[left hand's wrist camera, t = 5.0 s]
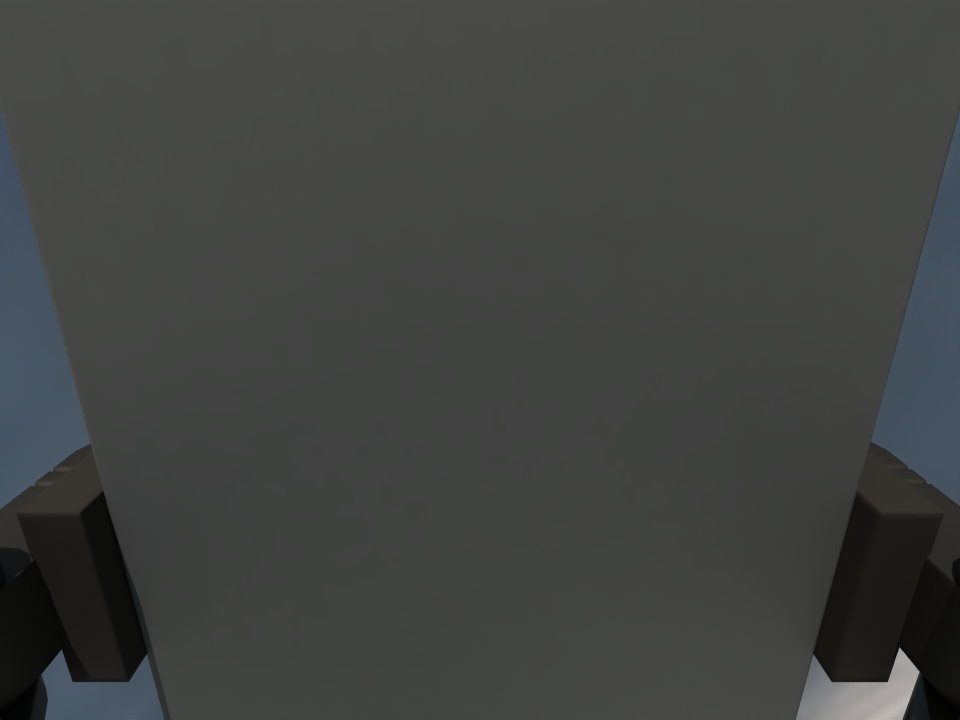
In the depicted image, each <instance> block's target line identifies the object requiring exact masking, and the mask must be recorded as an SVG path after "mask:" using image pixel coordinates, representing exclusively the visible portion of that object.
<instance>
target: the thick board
mask: <svg viewBox="0 0 960 720" xmlns="http://www.w3.org/2000/svg"><path fill="white" fill-rule="evenodd" d="M0 107H1V111H2V115H3V119H4V122H5V126H6V130H7V133H8V137H9V141H10V145H11V148H12V152H13V156H14V160H15V163H16V167H17V171H18V174H19V178H20V182H21V186H22V189H23V193H24V197H25V201H26V204H27V208H28V212H29V216H30V219H31V223H32V227H33V230H34V234H35V238H36V242H37V245H38V249H39V253H40V257H41V260H42V264H43V268H44V271H45V275H46V279H47V283H48V286H49V290H50V294H51V298H52V301H53V305H54V309H55V312H56V316H57V320H58V324H59V327H60V331H61V335H62V339H63V342H64V346H65V350H66V354H67V357H68V361H69V365H70V368H71V372H72V376H73V380H74V383H75V387H76V391H77V395H78V398H79V402H80V406H81V409H82V413H83V417H84V421H85V424H86V428H87V432H88V436H89V439H90V443H91V447H92V451H93V454H94V458H95V462H96V465H97V469H98V473H99V477H100V480H101V484H102V488H103V492H104V495H105V499H106V503H107V506H108V510H109V514H110V518H111V521H112V525H113V529H114V533H115V536H116V540H117V544H118V548H119V551H120V555H121V559H122V562H123V566H124V570H125V574H126V577H127V581H128V585H129V589H130V592H131V596H132V600H133V603H134V607H135V611H136V615H137V618H138V622H139V626H140V630H141V633H142V637H143V641H144V645H145V648H146V652H147V656H148V659H149V663H150V667H151V671H152V674H153V678H154V682H155V686H156V689H157V693H158V697H159V700H160V704H161V708H162V712H163V715H164V719H165V720H796V716H797V712H798V709H799V705H800V701H801V698H802V694H803V690H804V686H805V683H806V679H807V675H808V672H809V668H810V664H811V660H812V657H813V653H814V649H815V646H816V642H817V638H818V634H819V631H820V627H821V623H822V620H823V616H824V612H825V608H826V605H827V601H828V597H829V594H830V590H831V586H832V582H833V579H834V575H835V571H836V568H837V564H838V560H839V556H840V553H841V549H842V545H843V542H844V538H845V534H846V530H847V527H848V523H849V519H850V516H851V512H852V508H853V504H854V501H855V497H856V493H857V490H858V486H859V482H860V478H861V475H862V471H863V467H864V464H865V460H866V456H867V452H868V449H869V445H870V441H871V438H872V434H873V430H874V426H875V423H876V419H877V415H878V412H879V408H880V404H881V400H882V397H883V393H884V389H885V386H886V382H887V378H888V374H889V371H890V367H891V363H892V360H893V356H894V352H895V348H896V345H897V341H898V337H899V334H900V330H901V326H902V322H903V319H904V315H905V311H906V308H907V304H908V300H909V296H910V293H911V289H912V285H913V282H914V278H915V274H916V270H917V267H918V263H919V259H920V256H921V252H922V248H923V244H924V241H925V237H926V233H927V230H928V226H929V222H930V218H931V215H932V211H933V207H934V204H935V200H936V196H937V192H938V189H939V185H940V181H941V178H942V174H943V170H944V166H945V163H946V159H947V155H948V152H949V148H950V144H951V140H952V137H953V133H954V129H955V126H956V122H957V118H958V114H959V111H960V0H0Z"/></svg>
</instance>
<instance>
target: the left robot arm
mask: <svg viewBox="0 0 960 720" xmlns="http://www.w3.org/2000/svg"><path fill="white" fill-rule="evenodd" d="M899 647H900V648H901V649H902V651H903V652H904V653H905V654H906V655H907V657H908V658H909V659H910V660H911V662H912V663H913V664H914V665H915V666H916V668H917V669H918V670H919V671H920V673H919V675H918V678H917V681H916V684H915V687H914V689H913V692H912V695H911V698H910V701H909V703H908V706H907V709H906V712H905V714H904V717H903V720H960V506H959V505H957V504H956V503H955V502H953V501H952V500H951V499H949V498H948V497H947V496H946V495H944V494H943V493H942V492H940V491H939V490H938V489H937V488H935V487H934V486H933V485H931V484H926V480H925V479H924V478H922V477H921V476H920V475H918V474H917V473H916V472H914V471H913V470H908V468H907V465H905V464H904V463H903V462H901V461H900V460H899V459H898V458H896V457H895V456H894V455H892V454H891V453H890V452H888V451H887V450H886V449H884V448H882V447H880V446H878V445H876V444H874V443H871V442H870V445H869V449H868V452H867V456H866V460H865V464H864V467H863V471H862V475H861V478H860V482H859V486H858V490H857V493H856V497H855V501H854V504H853V508H852V512H851V516H850V519H849V523H848V527H847V530H846V534H845V538H844V542H843V545H842V549H841V553H840V556H839V560H838V564H837V568H836V571H835V575H834V579H833V582H832V586H831V590H830V594H829V597H828V601H827V605H826V608H825V612H824V616H823V620H822V623H821V627H820V631H819V634H818V638H817V642H816V646H815V649H814V653H813V654H814V655H815V657H816V658H817V660H818V661H819V663H820V664H821V666H822V668H823V669H824V671H825V672H826V674H827V675H828V677H829V678H830V680H831V682H888V680H889V677H890V674H891V671H892V668H893V665H894V662H895V659H896V656H897V653H898V650H899ZM61 649H62V651H63V654H64V657H65V660H66V663H67V666H68V669H69V672H70V675H71V678H72V681H73V682H129V681H130V679H131V677H132V676H133V674H134V673H135V671H136V670H137V668H138V667H139V665H140V663H141V662H142V660H143V659H144V657H145V656H146V654H147V652H146V648H145V645H144V641H143V637H142V633H141V630H140V626H139V622H138V618H137V615H136V611H135V607H134V603H133V600H132V596H131V592H130V589H129V585H128V581H127V577H126V574H125V570H124V566H123V562H122V559H121V555H120V551H119V548H118V544H117V540H116V536H115V533H114V529H113V525H112V521H111V518H110V514H109V510H108V506H107V503H106V499H105V495H104V492H103V488H102V484H101V480H100V477H99V473H98V469H97V465H96V462H95V458H94V454H93V451H92V447H91V444H90V445H88V446H85V447H83V448H81V449H79V450H77V451H75V452H74V453H73V454H71V455H70V456H69V457H68V458H66V459H65V460H64V461H62V462H61V463H60V464H59V465H57V466H56V467H55V468H54V471H53V472H48V473H47V474H46V475H44V476H43V477H42V478H40V479H39V480H38V481H37V482H35V486H30V487H29V488H28V489H26V490H25V491H24V492H22V493H21V494H20V495H19V496H17V497H16V498H15V499H13V500H12V501H11V502H10V503H8V504H7V505H6V506H4V507H3V508H2V509H1V510H0V720H45V714H46V708H47V702H48V698H47V692H46V687H45V684H44V681H43V678H42V675H41V674H42V673H43V672H44V670H45V669H46V668H47V667H48V665H49V664H50V663H51V662H52V661H53V659H54V658H55V657H56V656H57V654H58V653H59V652H60V651H61Z"/></svg>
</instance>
